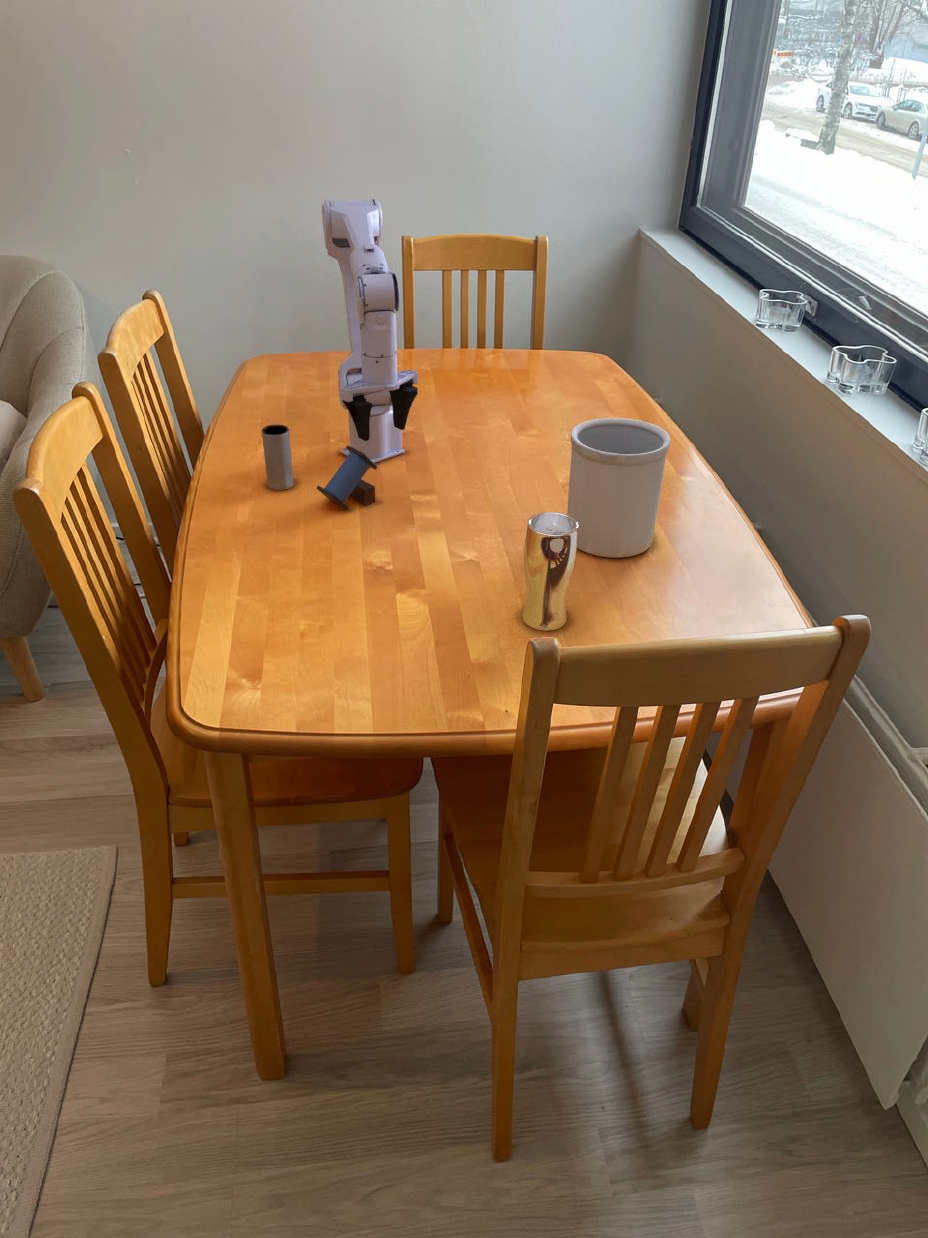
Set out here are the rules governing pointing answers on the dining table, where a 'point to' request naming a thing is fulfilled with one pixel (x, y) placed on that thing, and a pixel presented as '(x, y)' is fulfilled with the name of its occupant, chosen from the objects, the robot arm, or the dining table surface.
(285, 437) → the grey hollow cylinder
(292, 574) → the dining table surface
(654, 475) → the utensil holder
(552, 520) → the beer glass
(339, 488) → the spool
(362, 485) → the block
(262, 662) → the dining table surface
